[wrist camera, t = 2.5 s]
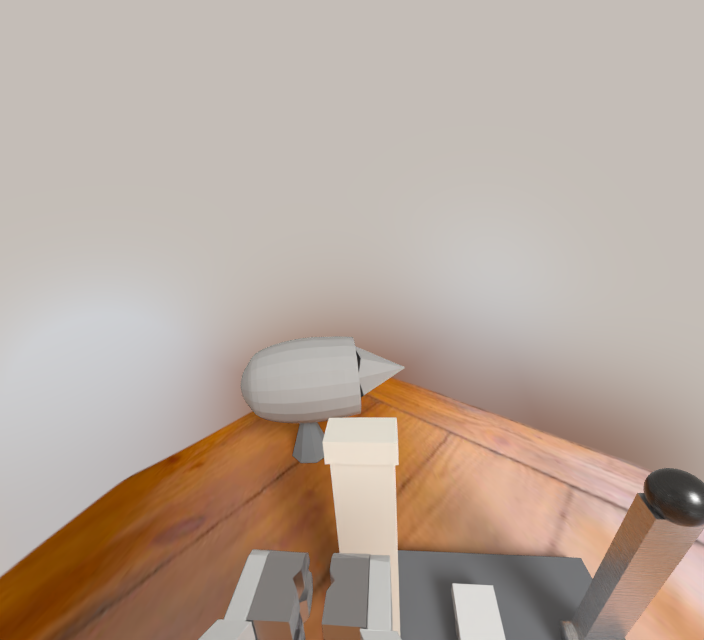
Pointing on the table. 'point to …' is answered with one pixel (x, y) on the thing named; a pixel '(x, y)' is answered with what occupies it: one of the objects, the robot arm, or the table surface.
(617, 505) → the table surface
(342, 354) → the jet engine
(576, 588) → the console
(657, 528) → the steel toggle lever
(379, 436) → the beige rectangular bar
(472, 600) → the block
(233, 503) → the table surface
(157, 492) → the table surface
